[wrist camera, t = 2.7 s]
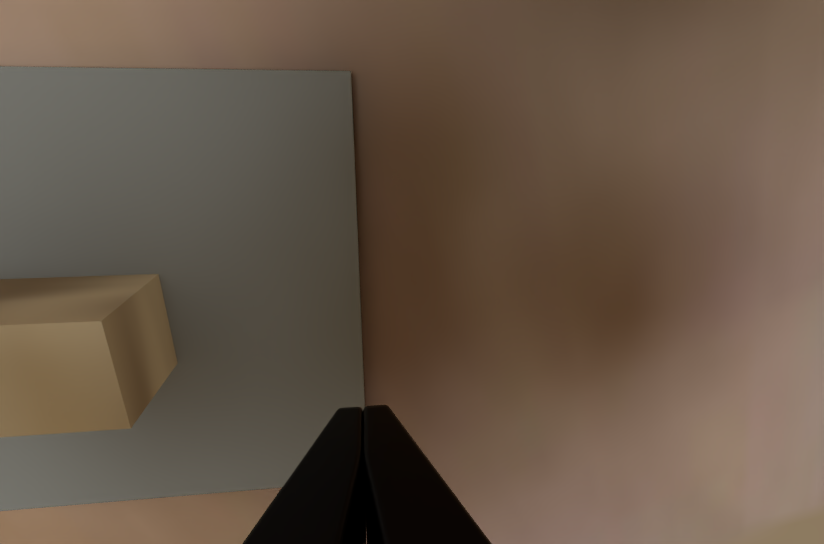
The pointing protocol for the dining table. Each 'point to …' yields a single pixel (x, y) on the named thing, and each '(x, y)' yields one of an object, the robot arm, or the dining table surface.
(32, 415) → the long wooden beam
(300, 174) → the mat
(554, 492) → the dining table surface
